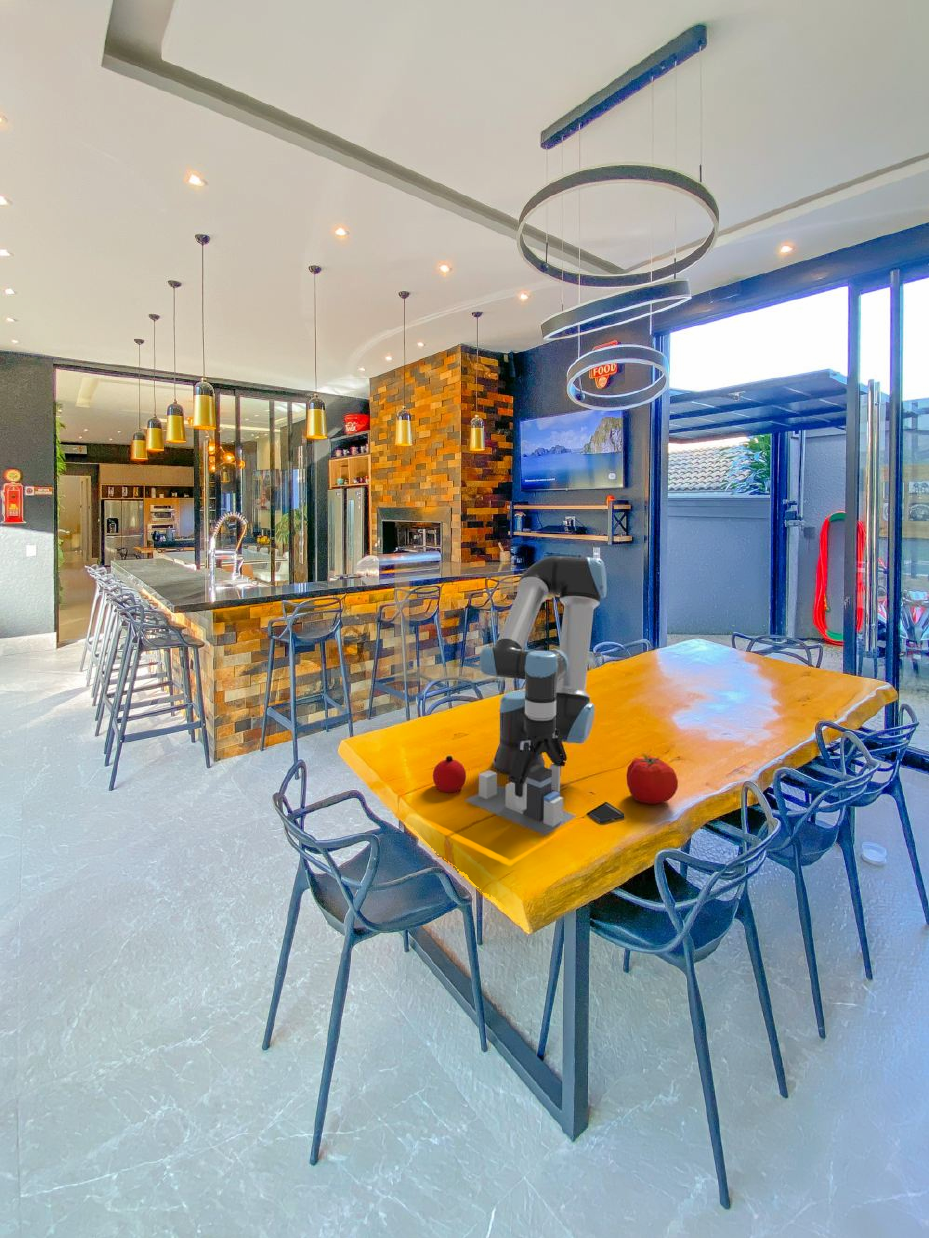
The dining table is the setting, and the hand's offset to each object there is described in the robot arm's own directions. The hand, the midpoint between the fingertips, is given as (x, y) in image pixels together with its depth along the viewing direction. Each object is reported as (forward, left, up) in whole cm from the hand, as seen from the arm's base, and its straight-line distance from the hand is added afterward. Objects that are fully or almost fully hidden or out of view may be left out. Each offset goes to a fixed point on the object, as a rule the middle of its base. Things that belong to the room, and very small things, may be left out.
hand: (538, 798), depth 158 cm
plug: (0, 0, -4) cm, 4 cm away
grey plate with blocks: (0, -6, -6) cm, 8 cm away
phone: (-15, +7, -6) cm, 18 cm away
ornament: (+4, -27, -6) cm, 28 cm away
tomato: (-29, +15, -6) cm, 33 cm away
